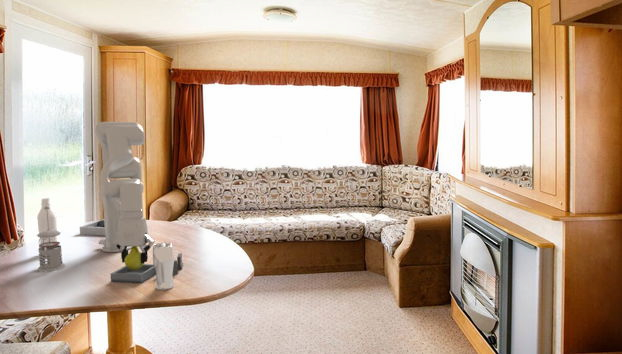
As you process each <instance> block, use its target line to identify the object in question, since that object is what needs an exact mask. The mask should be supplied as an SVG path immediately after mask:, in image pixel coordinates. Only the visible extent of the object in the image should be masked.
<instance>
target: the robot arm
mask: <svg viewBox="0 0 622 354" xmlns="http://www.w3.org/2000/svg"><path fill="white" fill-rule="evenodd" d="M94 129H95V130H94V131H95V135H96V138H97V141H98V142H99V145H100V147H101V154H102V155H101V157H102V160H101V161H102V169H101V172H100V187H99V190H100V191H99V192H100V197H101V201H102V207H103V219H104V224H105V235H104V237H105V239H103V238H102V239H101V238H100V239H99V241H98V245H103V246H102V248H101V249H102V251H103V252H106V253H118V252H120V253H121V255H120V257H121V263H124V264H125V261H124V260H125V257H126V256H127V255H128V254H129V250H131V248H132V247H133V246H134V247H138V248H139V250H140V252H141V263H144V264H146V262H147V261H148V258H149V257H148V251H149V250H150V249H151V248H152V247H153V245H155V240H153V238H151V237H150V236H149V230H148V225H147V219H146V218H145V217H144V207H143V205H144V204H143V193H144V183H143V182H142V181H143V180H142V176H143V175H142V172H143V171H142V165H141V162H140V159H138V157H134V153H133V146H142V145H144V144H145V142H146V141H145V140H146V133H145V131H144V128H143V127H142V125H140V124H139V123H138V122H137V121H100V122H98V123H96V124H95V128H94ZM145 219H146V220H145Z"/></svg>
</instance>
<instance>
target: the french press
mask: <svg viewBox="0 0 622 354" xmlns="http://www.w3.org/2000/svg"><path fill="white" fill-rule="evenodd" d="M44 209H50V208H49V206H45V207H44ZM47 221H48V212H47ZM60 235H61V232H60V231H58V230H57V231H56V230H49V225H48V230H46V231H43V232H41V233H39V232H38V234H37V235H36V237H38V238H39V239H38V247H39V248H38V259H39V260H38V261H39V266H38V268H37V269H36V270H37V271H38V272H52V271H57V270H61V269H63V268H65V267H66V264H64V263H63V252H62V246H61V245H60V244H61V242H60V241H57V242H53V241H52V242H50V238H49V242H47V243H44V240H46V239H47V237H54V236H57V237H58V236H60ZM41 237H42V238H46V239H42V240H43V243H42V244H40V238H41ZM40 247H41V248H40ZM45 247H46V250H45ZM55 248H57V249H55Z"/></svg>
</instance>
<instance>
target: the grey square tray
mask: <svg viewBox="0 0 622 354" xmlns="http://www.w3.org/2000/svg"><path fill="white" fill-rule="evenodd" d="M153 276H156V272H155V268H154V263H152V264H151V263H144V264H143V266H142V267H141V268H140V269H138V270H131V269H129V268H127V266H126V265H124V266H122V267H120V268H118V269H117V270H115V271H113V272H111V273H110V283H127V284H129V283H130V284H144V283H145V282H146V281H148V280H149V279H151V278H152V277H153Z"/></svg>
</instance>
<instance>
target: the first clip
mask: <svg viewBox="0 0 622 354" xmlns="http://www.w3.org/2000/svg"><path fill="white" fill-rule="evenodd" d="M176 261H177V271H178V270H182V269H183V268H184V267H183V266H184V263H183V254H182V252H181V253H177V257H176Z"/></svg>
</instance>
